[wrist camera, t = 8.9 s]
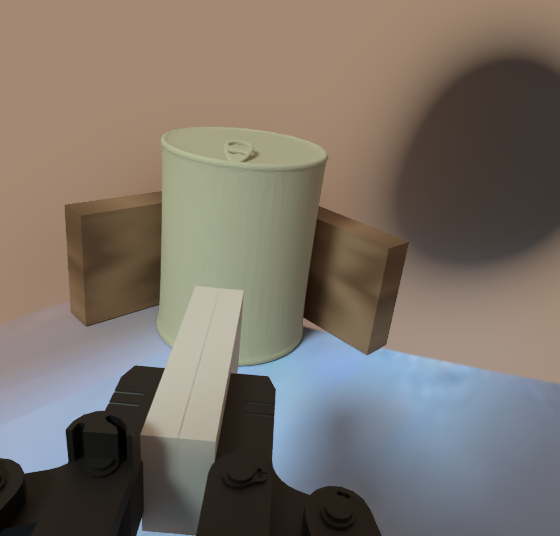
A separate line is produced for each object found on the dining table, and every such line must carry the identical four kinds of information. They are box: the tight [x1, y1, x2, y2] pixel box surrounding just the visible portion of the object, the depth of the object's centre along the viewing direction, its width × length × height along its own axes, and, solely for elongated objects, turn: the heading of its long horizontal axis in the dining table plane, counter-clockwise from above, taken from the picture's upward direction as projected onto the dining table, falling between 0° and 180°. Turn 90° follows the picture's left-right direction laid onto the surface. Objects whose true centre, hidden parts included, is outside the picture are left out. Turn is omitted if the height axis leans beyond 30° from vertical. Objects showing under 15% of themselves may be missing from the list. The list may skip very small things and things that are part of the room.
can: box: [157, 127, 328, 366], centre depth 32 cm, size 9×9×12 cm
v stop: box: [65, 191, 409, 355], centre depth 36 cm, size 11×20×7 cm, turn 89°
